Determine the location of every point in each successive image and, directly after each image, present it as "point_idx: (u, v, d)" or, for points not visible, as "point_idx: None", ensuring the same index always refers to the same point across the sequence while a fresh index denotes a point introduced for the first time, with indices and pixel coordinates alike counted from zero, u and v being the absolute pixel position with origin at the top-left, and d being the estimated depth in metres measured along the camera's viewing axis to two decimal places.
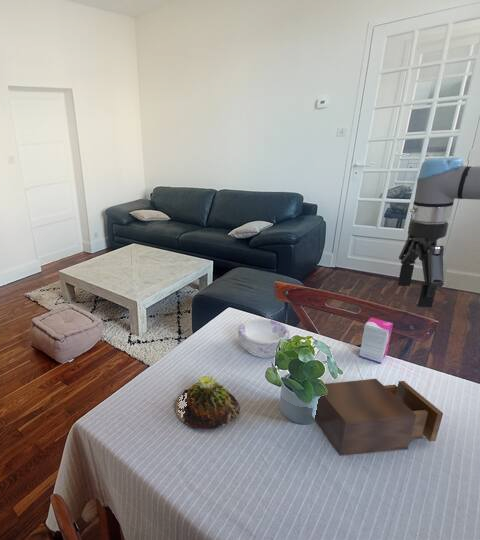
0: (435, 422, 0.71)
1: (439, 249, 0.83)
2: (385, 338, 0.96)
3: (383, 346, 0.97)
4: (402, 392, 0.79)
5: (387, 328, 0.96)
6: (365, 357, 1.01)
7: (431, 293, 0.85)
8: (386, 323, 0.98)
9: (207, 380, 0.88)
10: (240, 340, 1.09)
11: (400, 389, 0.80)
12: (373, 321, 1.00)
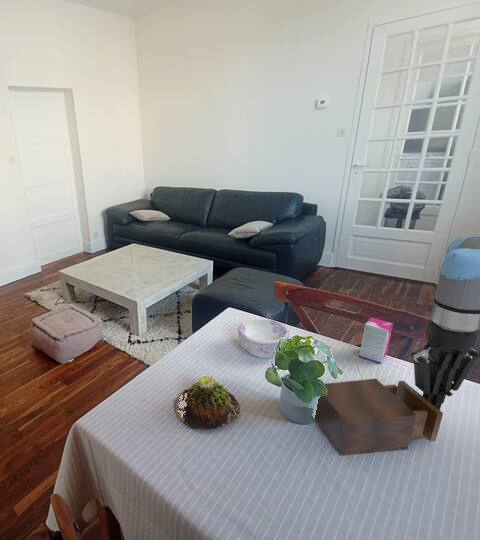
0: (435, 422, 0.71)
1: (417, 360, 0.71)
2: (385, 338, 0.96)
3: (383, 346, 0.97)
4: (402, 392, 0.79)
5: (387, 328, 0.96)
6: (365, 357, 1.01)
7: None
8: (386, 323, 0.98)
9: (207, 380, 0.88)
10: (240, 340, 1.09)
11: (400, 389, 0.80)
12: (373, 321, 1.00)
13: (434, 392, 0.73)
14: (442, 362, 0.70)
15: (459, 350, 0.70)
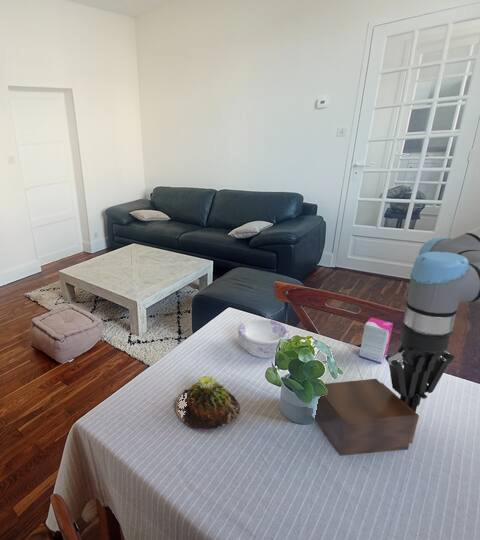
0: None
1: (391, 364, 0.72)
2: (385, 338, 0.96)
3: (383, 346, 0.97)
4: None
5: (387, 328, 0.96)
6: (365, 357, 1.01)
7: None
8: (386, 323, 0.98)
9: (207, 380, 0.88)
10: (240, 340, 1.09)
11: None
12: (373, 321, 1.00)
13: (410, 394, 0.73)
14: (416, 365, 0.70)
15: (432, 353, 0.70)
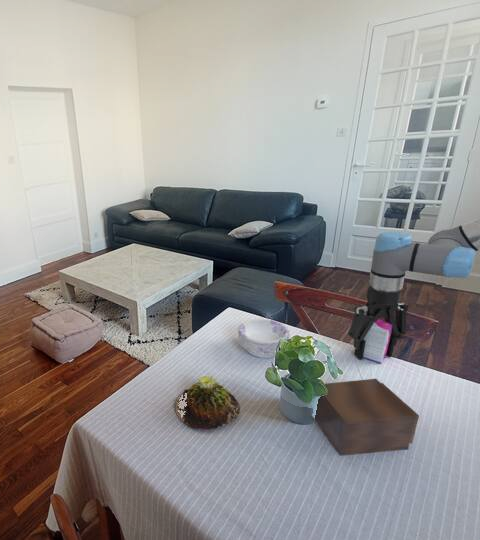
0: None
1: (358, 311, 0.96)
2: (385, 338, 0.96)
3: (383, 346, 0.97)
4: None
5: (387, 328, 0.96)
6: (365, 357, 1.01)
7: (355, 345, 1.01)
8: (386, 323, 0.98)
9: (207, 380, 0.88)
10: (240, 340, 1.09)
11: None
12: None
13: (361, 338, 0.99)
14: (375, 315, 0.96)
15: (389, 307, 0.95)
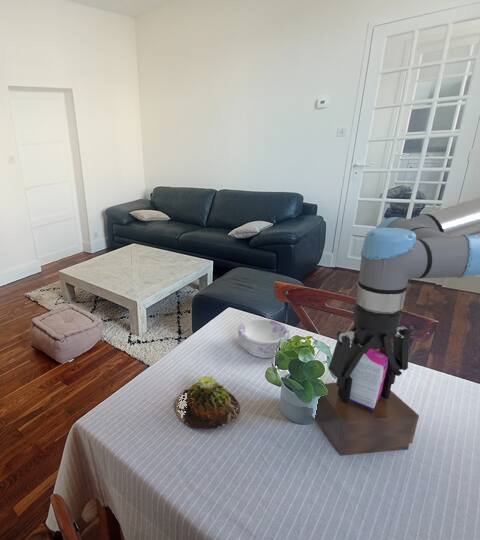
0: None
1: (341, 339, 0.69)
2: (379, 376, 0.69)
3: (376, 387, 0.70)
4: None
5: (381, 362, 0.69)
6: (352, 399, 0.74)
7: (339, 384, 0.74)
8: (379, 354, 0.71)
9: (207, 380, 0.88)
10: (240, 340, 1.09)
11: None
12: None
13: (346, 375, 0.71)
14: (365, 344, 0.68)
15: (385, 333, 0.68)
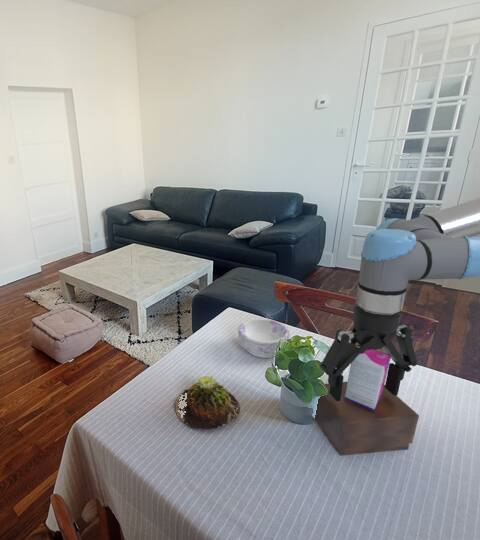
0: None
1: (341, 336, 0.69)
2: (380, 377, 0.69)
3: (377, 387, 0.70)
4: None
5: (382, 363, 0.69)
6: (353, 400, 0.74)
7: (330, 381, 0.73)
8: (381, 355, 0.71)
9: (207, 380, 0.88)
10: (240, 340, 1.09)
11: None
12: None
13: (337, 373, 0.71)
14: (364, 344, 0.68)
15: (384, 334, 0.68)
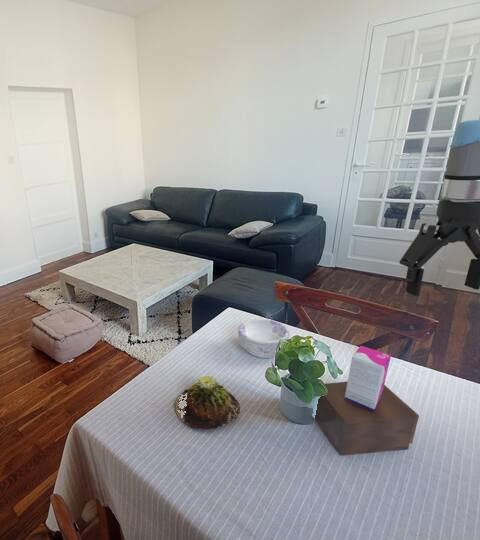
0: None
1: (427, 228, 0.72)
2: (380, 377, 0.69)
3: (377, 387, 0.70)
4: None
5: (382, 363, 0.69)
6: (353, 400, 0.74)
7: (409, 276, 0.77)
8: (381, 355, 0.71)
9: (207, 380, 0.88)
10: (240, 340, 1.09)
11: None
12: (363, 351, 0.73)
13: (418, 265, 0.74)
14: (449, 235, 0.72)
15: (469, 225, 0.71)
